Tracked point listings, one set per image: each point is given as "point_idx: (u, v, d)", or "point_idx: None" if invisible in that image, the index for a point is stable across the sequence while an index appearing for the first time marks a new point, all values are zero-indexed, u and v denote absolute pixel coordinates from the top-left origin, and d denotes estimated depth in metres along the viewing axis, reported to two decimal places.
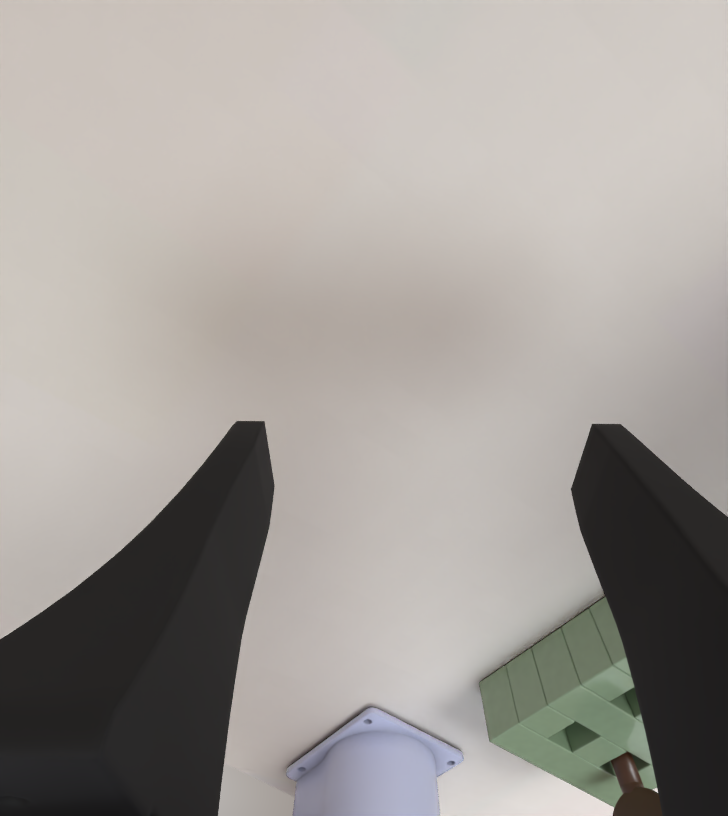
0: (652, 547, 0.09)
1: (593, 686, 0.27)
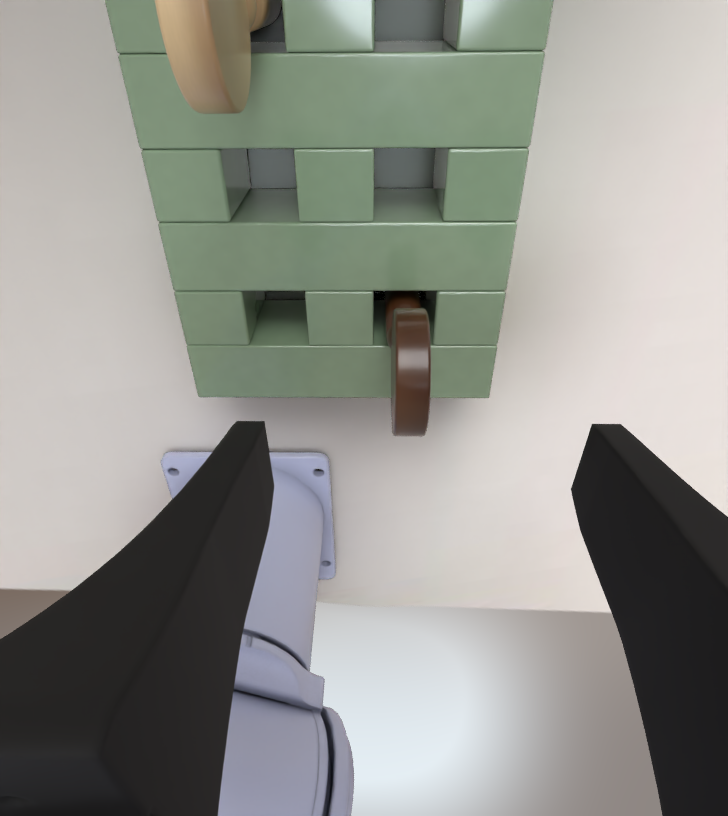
0: (652, 547, 0.09)
1: (173, 211, 0.16)
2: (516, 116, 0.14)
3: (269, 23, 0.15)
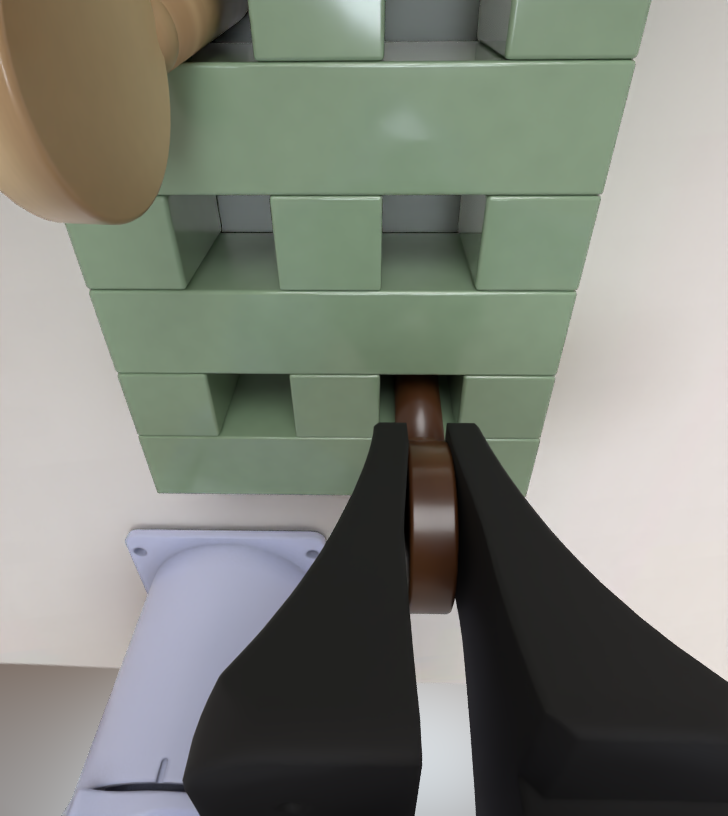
0: (472, 545, 0.10)
1: (108, 276, 0.12)
2: (587, 152, 0.10)
3: None
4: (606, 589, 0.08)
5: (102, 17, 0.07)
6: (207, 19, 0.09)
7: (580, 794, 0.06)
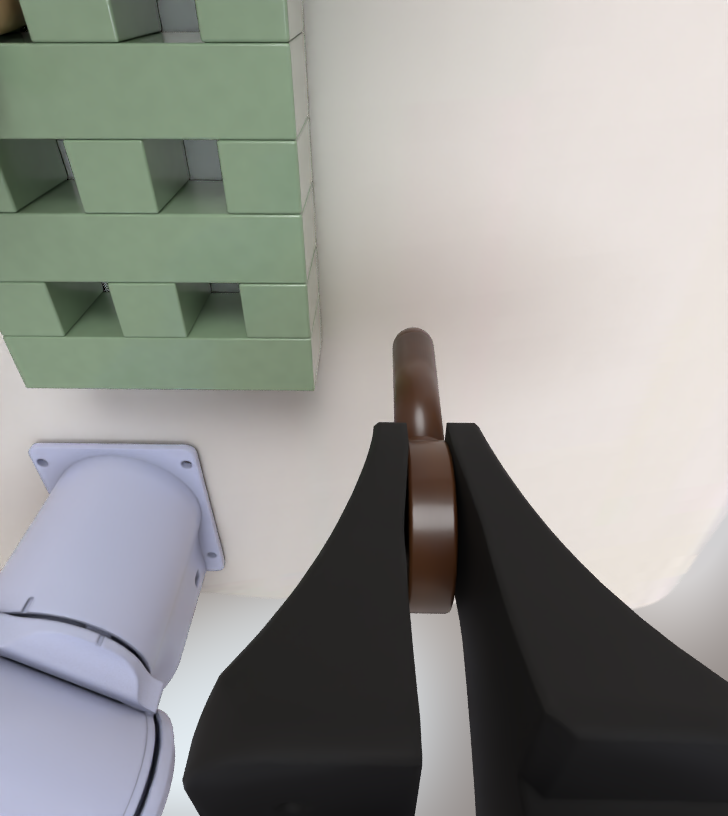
0: (472, 545, 0.10)
1: None
2: (275, 108, 0.14)
3: None
4: (606, 589, 0.08)
5: None
6: None
7: (580, 794, 0.06)
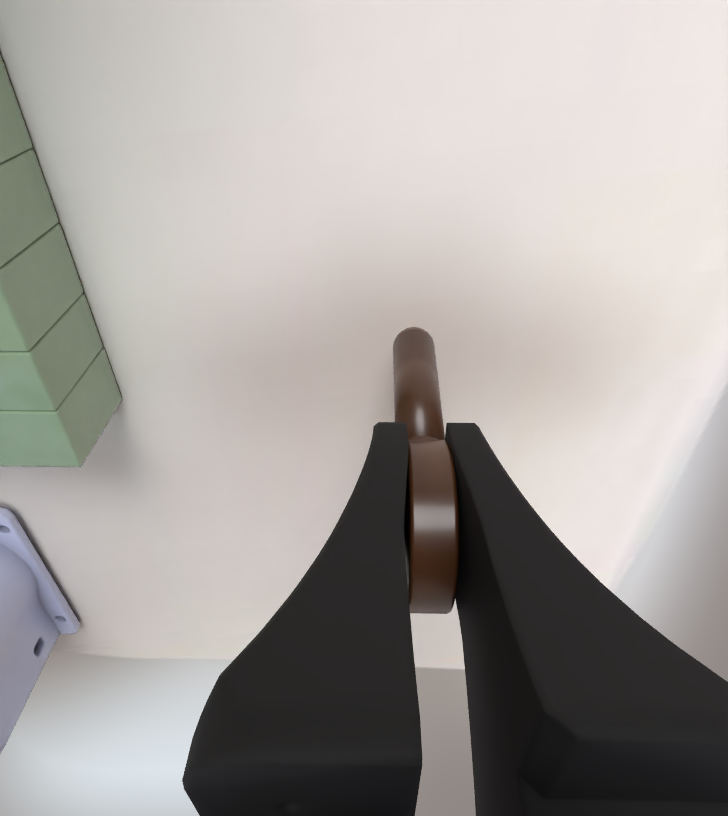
0: (472, 545, 0.10)
1: None
2: None
3: None
4: (606, 589, 0.08)
5: None
6: None
7: (580, 794, 0.06)
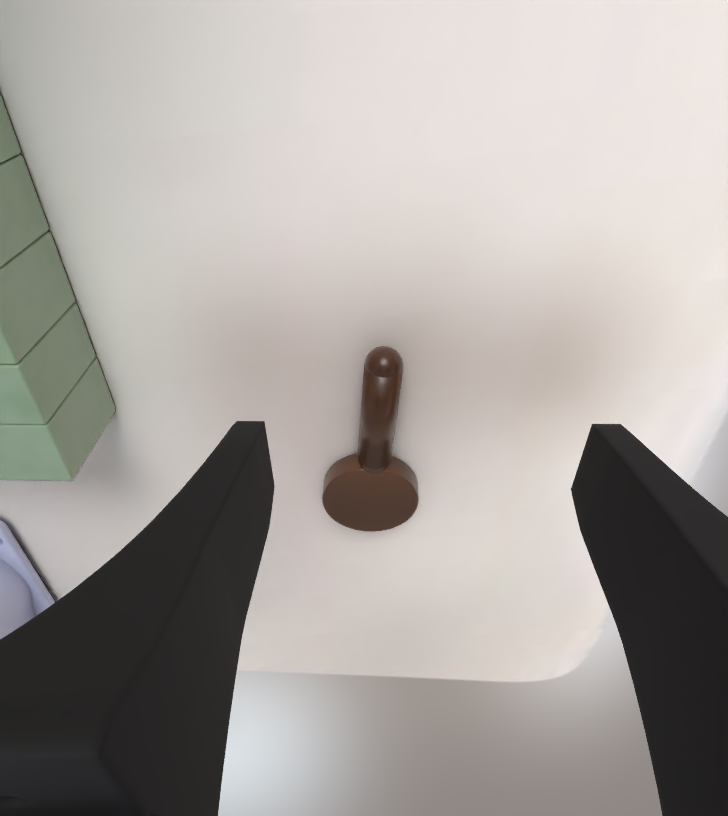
0: (652, 547, 0.09)
1: None
2: None
3: None
4: None
5: None
6: None
7: None
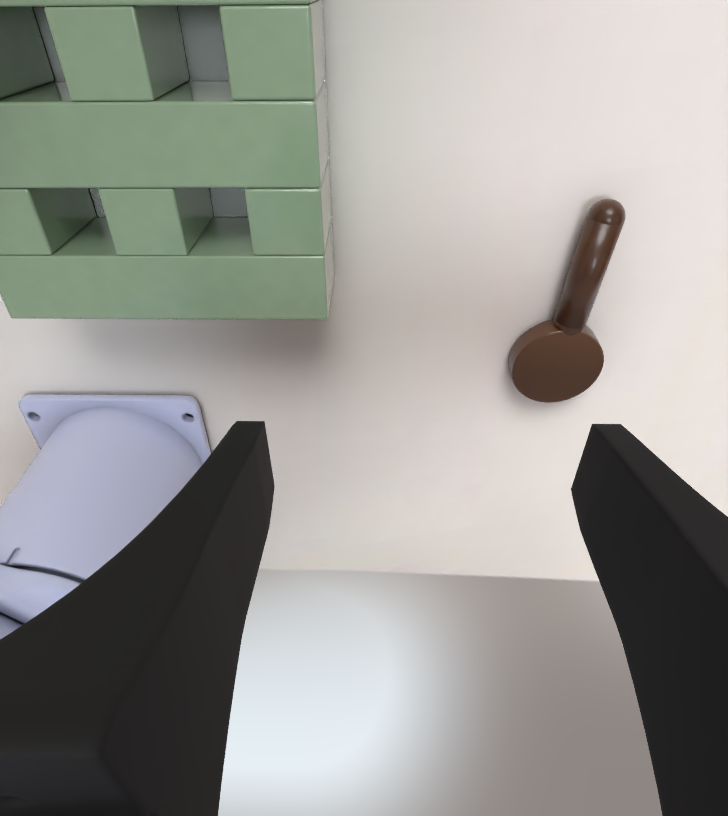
0: (652, 547, 0.09)
1: None
2: None
3: None
4: None
5: None
6: None
7: None
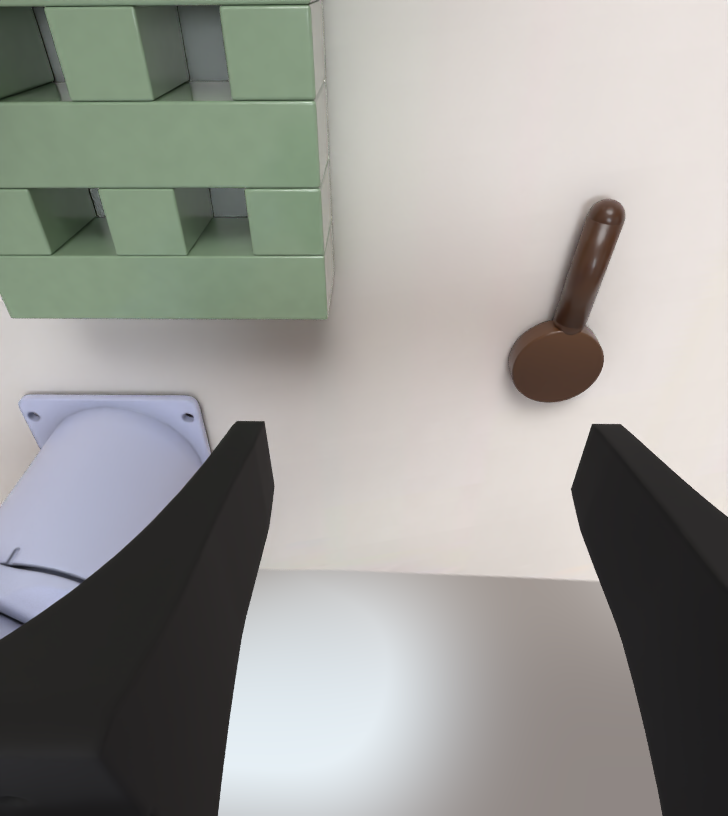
0: (652, 547, 0.09)
1: None
2: None
3: None
4: None
5: None
6: None
7: None
